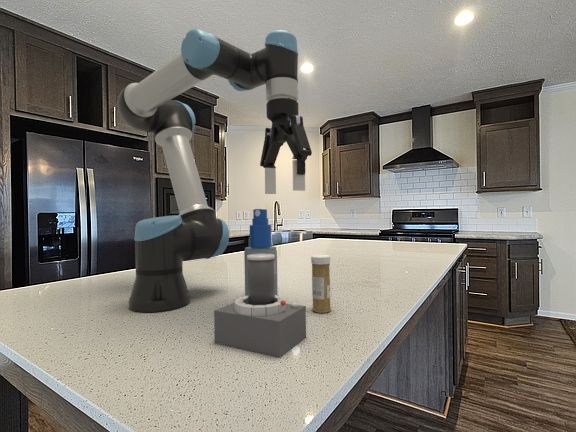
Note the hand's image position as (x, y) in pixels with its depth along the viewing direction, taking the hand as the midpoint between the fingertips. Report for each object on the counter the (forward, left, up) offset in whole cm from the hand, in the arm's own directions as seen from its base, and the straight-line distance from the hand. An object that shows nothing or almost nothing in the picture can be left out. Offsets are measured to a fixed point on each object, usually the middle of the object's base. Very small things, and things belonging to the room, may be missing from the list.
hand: (283, 192), depth 80 cm
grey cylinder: (+4, -16, -23) cm, 28 cm away
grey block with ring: (+4, -16, -29) cm, 33 cm away
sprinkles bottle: (+7, +6, -29) cm, 30 cm away
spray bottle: (-12, +8, -29) cm, 32 cm away
